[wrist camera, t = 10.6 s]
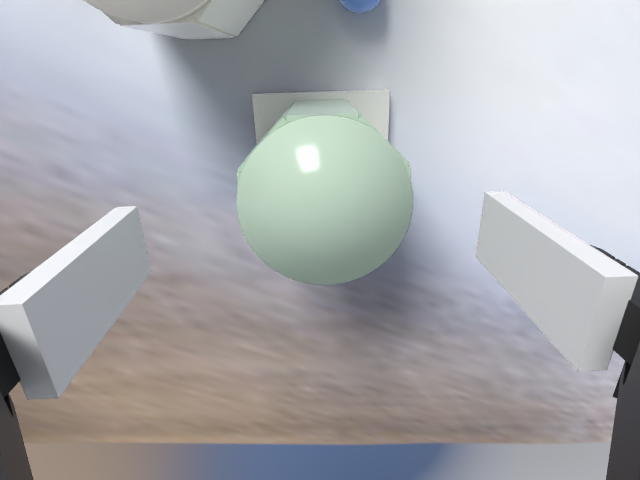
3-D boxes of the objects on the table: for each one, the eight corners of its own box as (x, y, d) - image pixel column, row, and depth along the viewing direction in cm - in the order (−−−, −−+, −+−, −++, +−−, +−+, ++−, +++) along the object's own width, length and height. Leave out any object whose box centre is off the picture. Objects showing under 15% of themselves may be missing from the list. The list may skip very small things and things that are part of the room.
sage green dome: (257, 101, 26) (226, 119, 17) (382, 97, 26) (418, 113, 17) (268, 218, 29) (246, 287, 20) (379, 215, 29) (407, 282, 20)
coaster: (265, 218, 30) (263, 223, 30) (253, 93, 27) (251, 94, 26) (383, 215, 30) (385, 219, 29) (387, 89, 27) (389, 89, 26)
